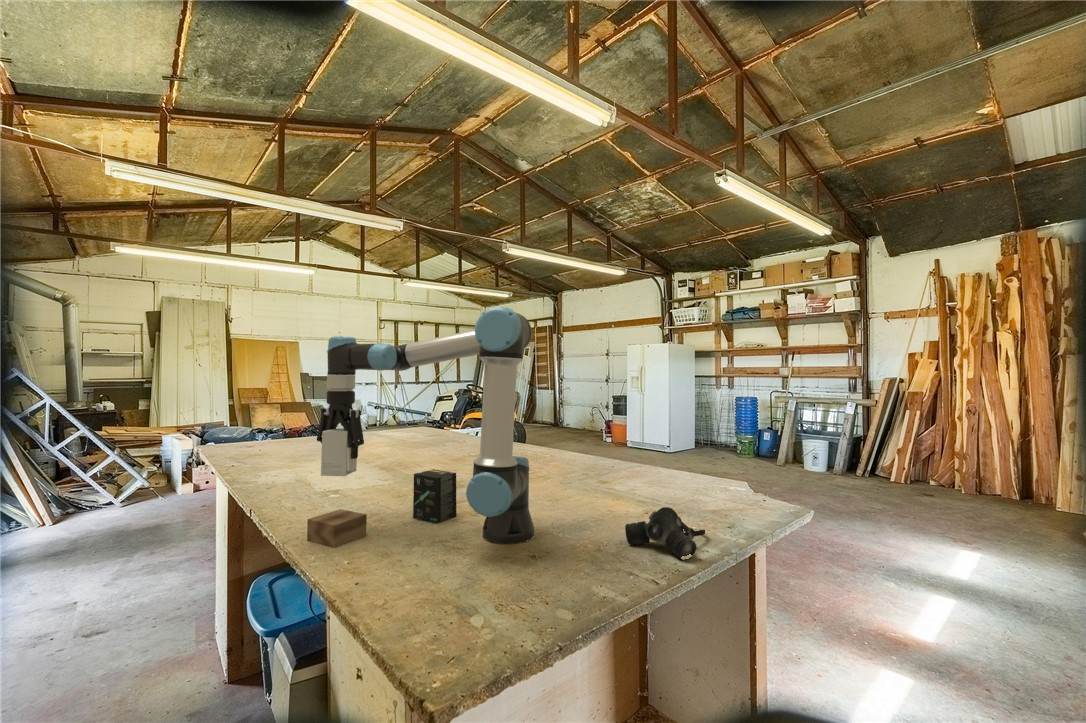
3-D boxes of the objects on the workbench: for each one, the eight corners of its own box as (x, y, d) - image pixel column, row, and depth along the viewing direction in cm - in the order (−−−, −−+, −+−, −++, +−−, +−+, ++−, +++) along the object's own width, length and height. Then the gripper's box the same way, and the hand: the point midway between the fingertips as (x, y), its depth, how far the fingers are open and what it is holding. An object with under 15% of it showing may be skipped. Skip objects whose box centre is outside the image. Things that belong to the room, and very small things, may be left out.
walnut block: (366, 535, 135) (366, 514, 135) (333, 547, 125) (334, 525, 125) (340, 529, 140) (340, 509, 140) (307, 540, 130) (307, 519, 130)
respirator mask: (616, 536, 128) (634, 487, 135) (647, 568, 140) (662, 522, 147) (684, 555, 114) (700, 501, 122) (712, 589, 126) (725, 537, 133)
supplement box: (346, 476, 129) (347, 431, 130) (319, 476, 130) (321, 430, 130) (357, 471, 137) (358, 428, 137) (332, 470, 137) (333, 427, 137)
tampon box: (457, 516, 153) (457, 472, 153) (436, 524, 145) (437, 477, 146) (433, 511, 159) (433, 468, 159) (412, 518, 151) (413, 473, 152)
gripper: (379, 390, 132) (377, 469, 132) (326, 388, 142) (324, 462, 142) (357, 391, 125) (355, 474, 125) (304, 389, 136) (302, 466, 135)
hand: (339, 468), depth 133 cm, fingers closed on supplement box, 9 cm apart
